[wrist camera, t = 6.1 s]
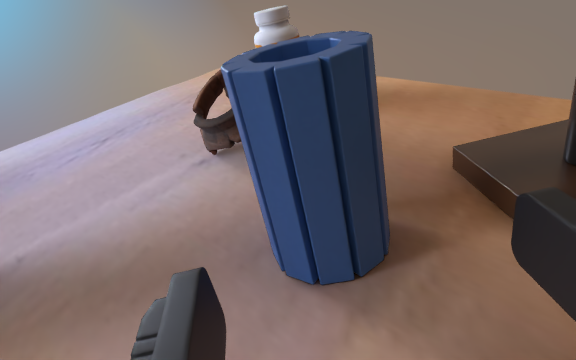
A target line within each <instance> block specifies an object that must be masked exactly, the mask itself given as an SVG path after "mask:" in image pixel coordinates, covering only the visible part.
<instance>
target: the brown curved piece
mask: <svg viewBox="0 0 576 360" xmlns="http://www.w3.org/2000/svg"><path fill="white" fill-rule="evenodd" d="M223 88H224V90H225V92H226V96H227V97H228V98H229V96H228V92H227V89H226V85H225V81H224V78H223V74H222V71H221V70H219V71H218V72H217V73H216V74H215V75H213V76H212V77H211V78H210V79H209V81H208V82H207V83H206V84H205V86H204V87H203V88H202V90H201V91H200V93H199V95H198V96H197V98H196V100H195V103H194V105H193V111H194V112H195V113H196V116H195V119H194V124H195V125H196V126H198V127H199V128H201V129H200V131H201V134H202V138H203V141H204V144H205V146H206V148H207V150H209V152H211V153H212V154H214V155H216V154H217V150H219V149H224V148H231V147H232V146H234V144H235V142H237V143H238V142H241V138H240V134H239V131H238V127H237V124H236V120H235V117H234V113H233V110H232V109H230V110H229V111H228V112H226V113H225V114H223V115H221V116H219V117H217V118H213V119H206V118H207V115H208V112H209V109H210V107H211V106H212V105H213V103H214V102H215V100H216V98H217V97H218V96H219V95H220V94H221V93H222V92H223Z"/></svg>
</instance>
